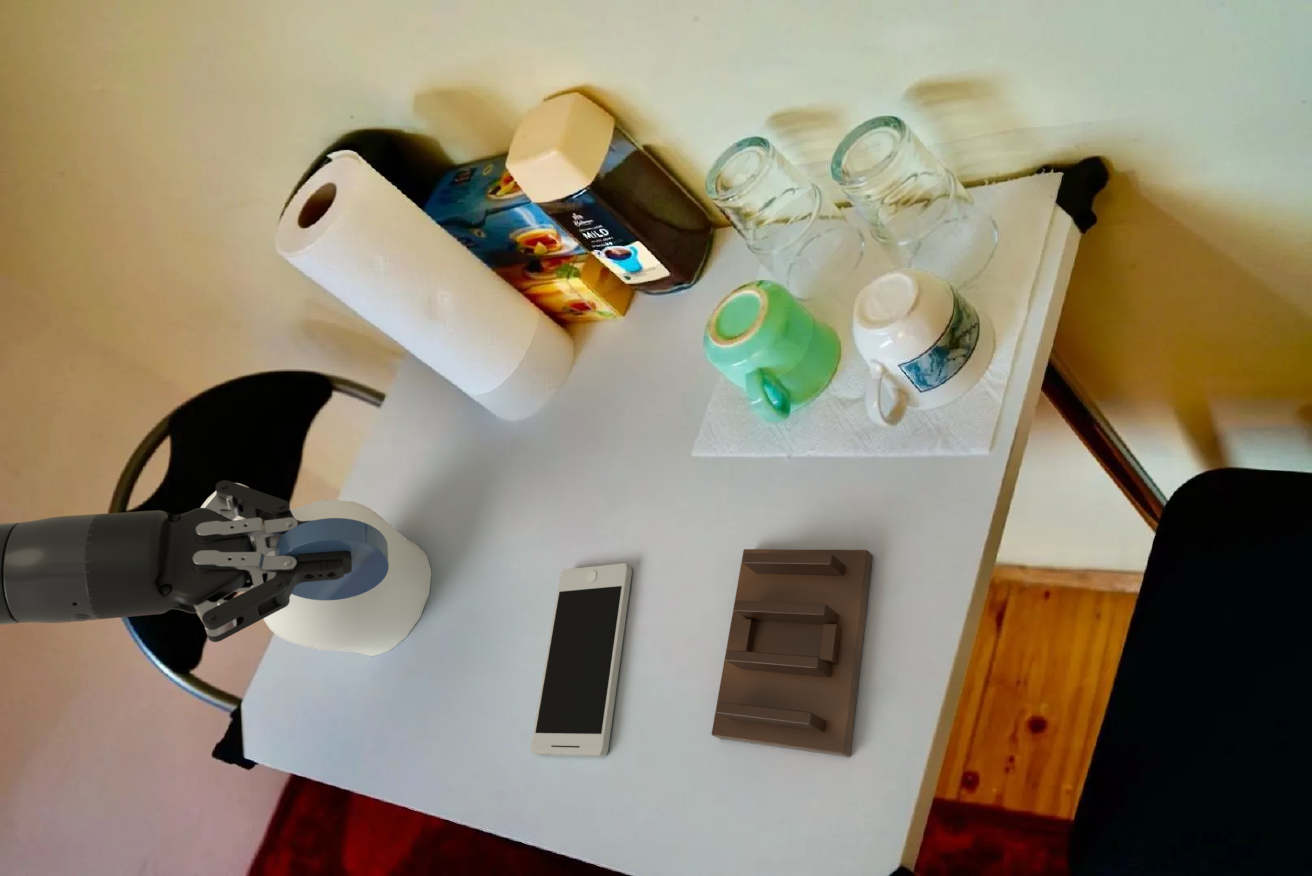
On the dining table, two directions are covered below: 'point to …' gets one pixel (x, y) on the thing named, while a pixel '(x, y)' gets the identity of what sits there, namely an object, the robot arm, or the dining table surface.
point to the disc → (338, 536)
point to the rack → (795, 650)
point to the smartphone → (582, 662)
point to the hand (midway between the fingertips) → (350, 547)
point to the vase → (365, 617)
